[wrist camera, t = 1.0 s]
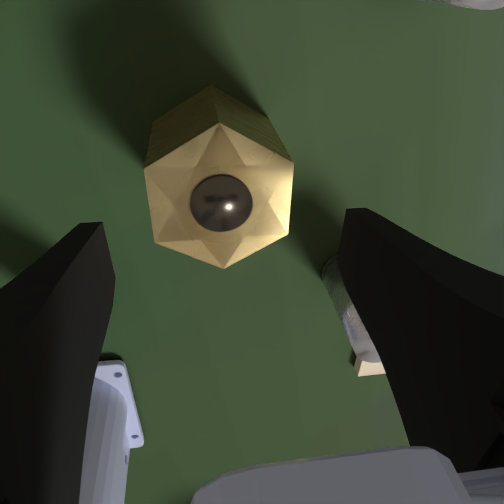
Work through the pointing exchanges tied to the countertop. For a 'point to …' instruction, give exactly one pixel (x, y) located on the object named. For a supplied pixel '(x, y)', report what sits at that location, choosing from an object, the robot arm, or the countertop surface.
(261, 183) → the brass nut
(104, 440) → the robot arm
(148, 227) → the countertop surface
